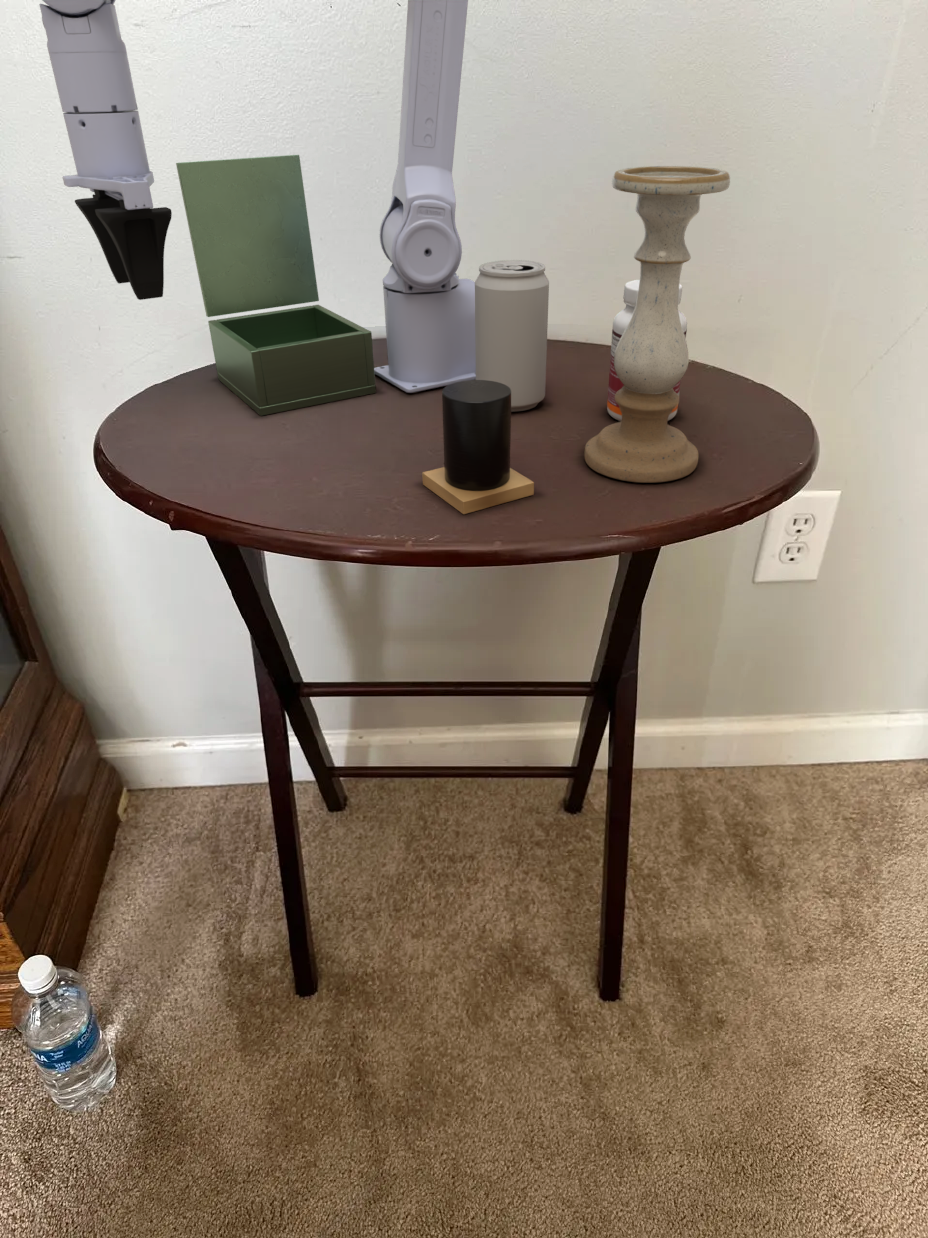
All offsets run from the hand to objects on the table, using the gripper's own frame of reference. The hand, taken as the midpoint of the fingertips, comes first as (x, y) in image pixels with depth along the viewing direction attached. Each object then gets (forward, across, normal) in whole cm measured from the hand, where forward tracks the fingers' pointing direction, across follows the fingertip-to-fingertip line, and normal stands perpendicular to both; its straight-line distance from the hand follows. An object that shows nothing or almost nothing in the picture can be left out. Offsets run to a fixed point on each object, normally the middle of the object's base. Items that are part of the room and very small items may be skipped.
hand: (139, 289), depth 75 cm
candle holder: (+10, +36, +28) cm, 47 cm away
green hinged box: (+10, +4, +12) cm, 16 cm away
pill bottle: (+10, +29, +35) cm, 46 cm away
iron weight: (+9, +34, +14) cm, 38 cm away
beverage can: (+10, +20, +27) cm, 35 cm away
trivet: (+10, +34, +14) cm, 38 cm away
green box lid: (-3, -3, +12) cm, 13 cm away
